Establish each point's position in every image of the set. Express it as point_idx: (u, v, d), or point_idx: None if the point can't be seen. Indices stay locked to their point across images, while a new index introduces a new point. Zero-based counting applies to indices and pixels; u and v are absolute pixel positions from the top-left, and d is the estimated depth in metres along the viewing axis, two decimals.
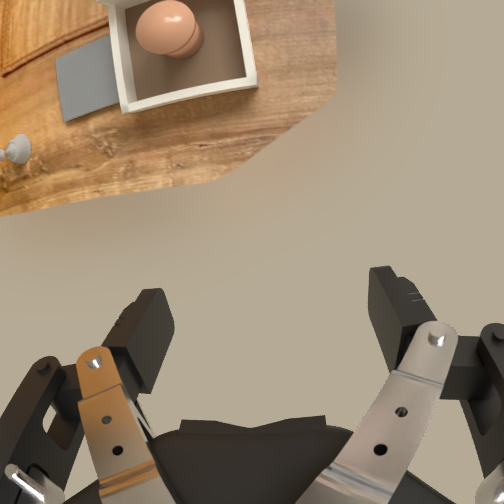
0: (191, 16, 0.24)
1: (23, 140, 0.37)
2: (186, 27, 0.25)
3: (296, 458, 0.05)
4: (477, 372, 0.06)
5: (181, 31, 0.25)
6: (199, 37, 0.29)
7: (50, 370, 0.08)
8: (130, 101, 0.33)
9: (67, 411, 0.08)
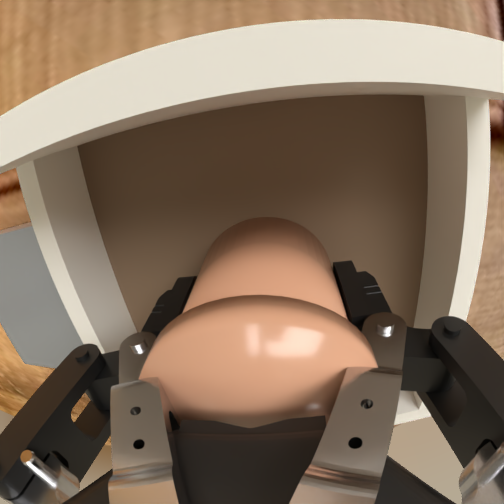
0: None
1: None
2: None
3: (296, 458, 0.05)
4: (428, 364, 0.07)
5: None
6: None
7: (90, 357, 0.08)
8: None
9: (101, 401, 0.08)
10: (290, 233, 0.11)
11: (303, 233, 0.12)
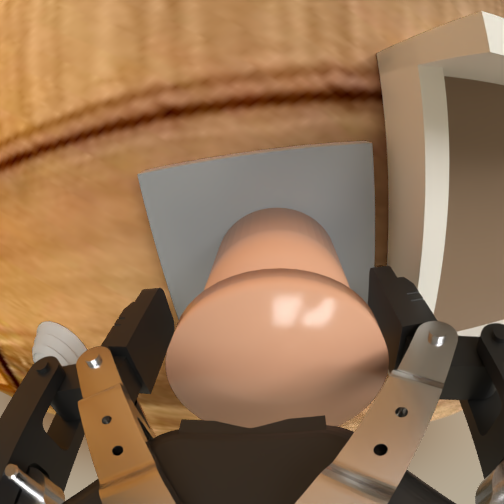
0: (383, 366, 0.08)
1: (69, 346, 0.18)
2: (357, 395, 0.08)
3: (296, 458, 0.05)
4: (477, 372, 0.06)
5: (338, 404, 0.08)
6: None
7: (50, 370, 0.08)
8: None
9: (67, 411, 0.08)
10: (300, 222, 0.12)
11: (310, 222, 0.13)
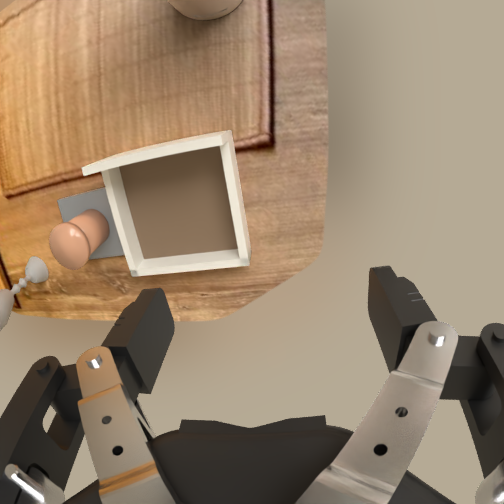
0: (82, 242, 0.34)
1: (40, 265, 0.45)
2: (82, 251, 0.35)
3: (296, 458, 0.05)
4: (477, 372, 0.06)
5: (79, 254, 0.35)
6: (101, 236, 0.39)
7: (50, 370, 0.08)
8: (138, 263, 0.41)
9: (67, 411, 0.08)
10: (89, 212, 0.39)
11: (94, 212, 0.39)
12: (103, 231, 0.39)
